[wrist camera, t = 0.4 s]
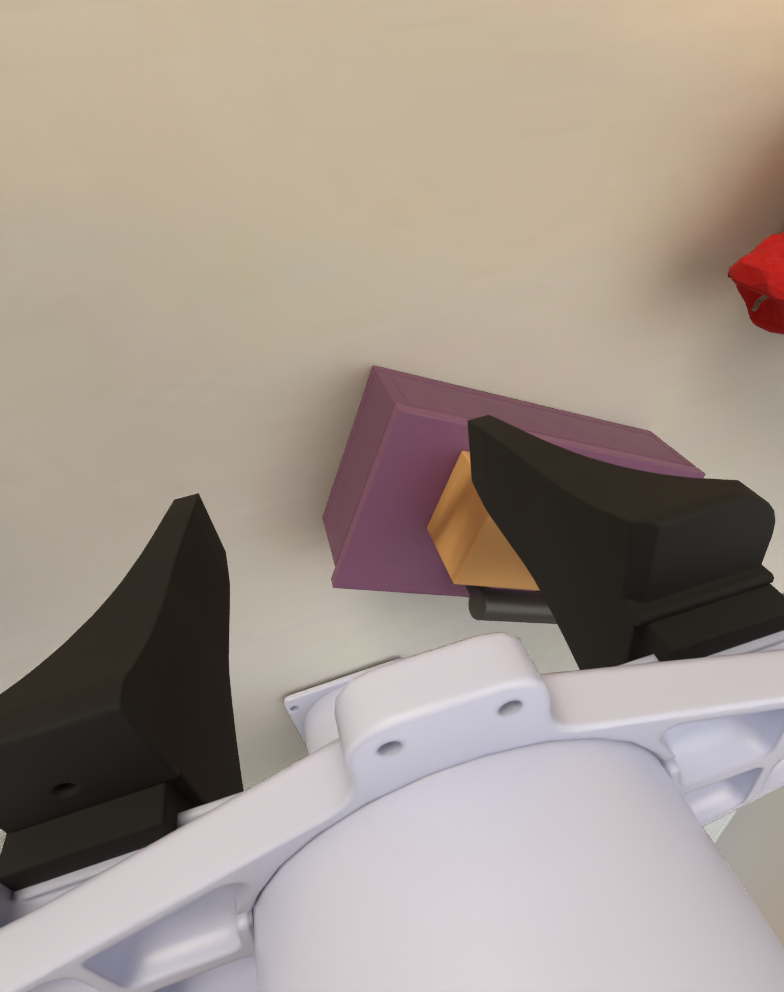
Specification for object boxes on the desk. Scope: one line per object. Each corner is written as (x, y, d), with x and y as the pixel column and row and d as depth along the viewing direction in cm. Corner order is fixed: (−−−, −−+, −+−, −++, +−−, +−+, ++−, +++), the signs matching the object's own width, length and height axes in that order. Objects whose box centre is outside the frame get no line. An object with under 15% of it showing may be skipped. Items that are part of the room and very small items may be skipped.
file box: (577, 547, 34) (610, 589, 31) (322, 517, 28) (334, 566, 25) (651, 431, 30) (697, 467, 27) (372, 365, 24) (394, 402, 21)
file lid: (604, 599, 31) (643, 649, 29) (330, 578, 25) (345, 640, 22) (697, 467, 27) (754, 511, 24) (394, 402, 21) (424, 452, 18)
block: (521, 539, 26) (557, 593, 23) (425, 528, 24) (453, 585, 21) (561, 468, 24) (606, 517, 21) (461, 449, 22) (496, 500, 19)
